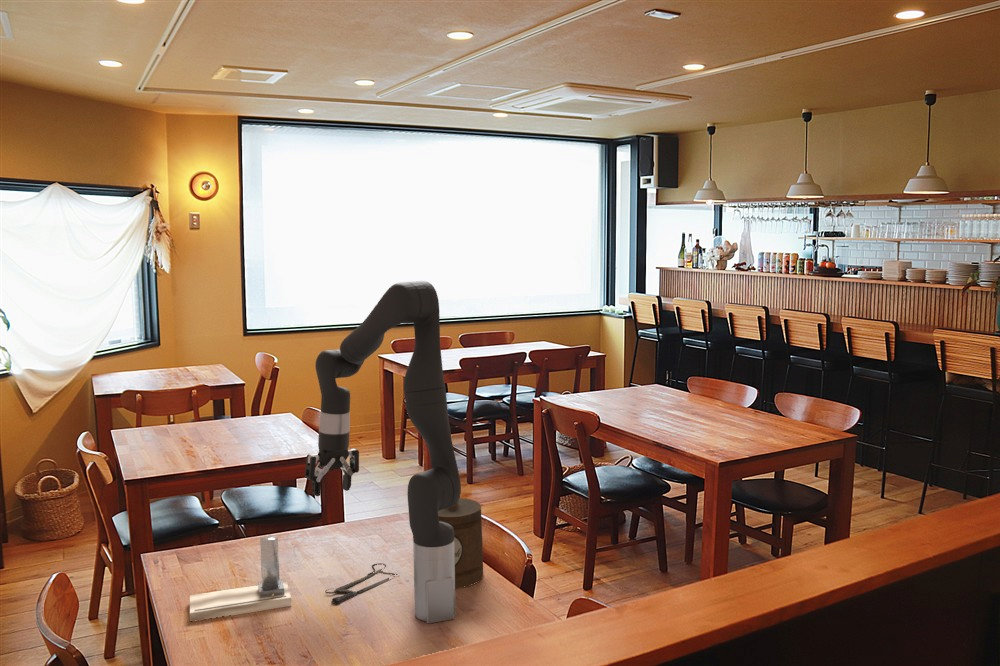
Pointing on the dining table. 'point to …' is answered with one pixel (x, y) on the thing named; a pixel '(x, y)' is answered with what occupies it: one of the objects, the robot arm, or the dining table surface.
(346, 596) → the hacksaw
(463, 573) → the wooden container
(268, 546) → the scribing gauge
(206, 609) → the birch board
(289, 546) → the dining table surface
